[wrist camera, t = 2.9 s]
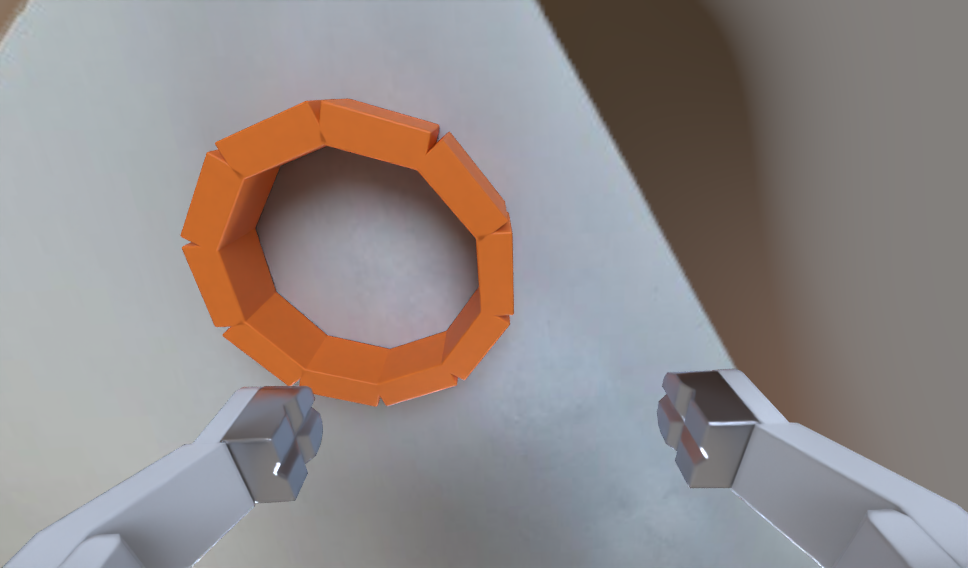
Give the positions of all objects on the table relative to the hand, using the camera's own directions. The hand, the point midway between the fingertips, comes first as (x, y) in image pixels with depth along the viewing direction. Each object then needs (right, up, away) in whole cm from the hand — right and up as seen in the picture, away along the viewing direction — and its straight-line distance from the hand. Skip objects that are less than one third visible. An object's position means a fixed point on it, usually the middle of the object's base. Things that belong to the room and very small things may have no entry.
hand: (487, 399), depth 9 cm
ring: (-5, +4, +9) cm, 11 cm away
